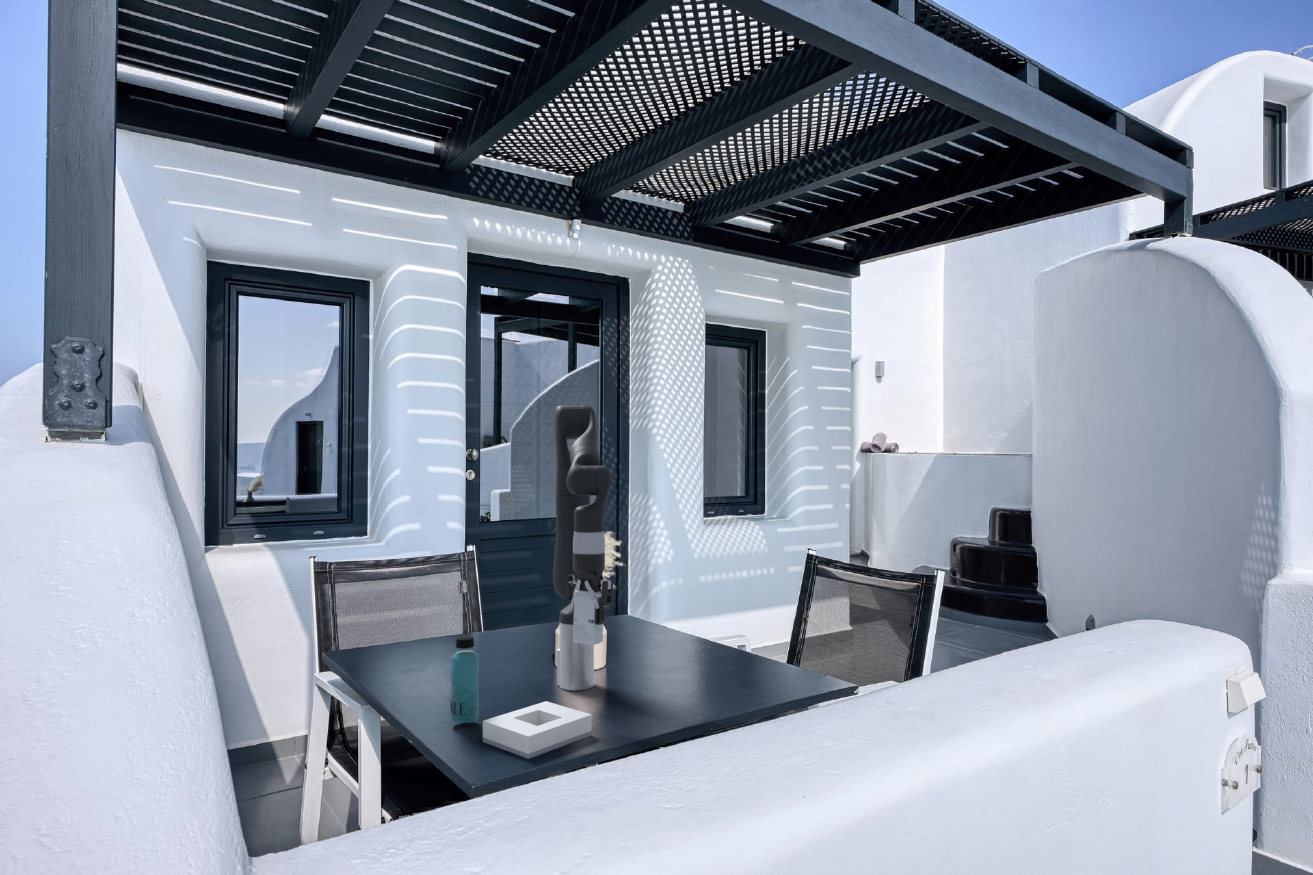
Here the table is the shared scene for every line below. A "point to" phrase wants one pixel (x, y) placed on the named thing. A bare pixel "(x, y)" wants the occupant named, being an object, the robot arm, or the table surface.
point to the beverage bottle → (464, 682)
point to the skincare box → (586, 619)
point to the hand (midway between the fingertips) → (588, 621)
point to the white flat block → (537, 729)
